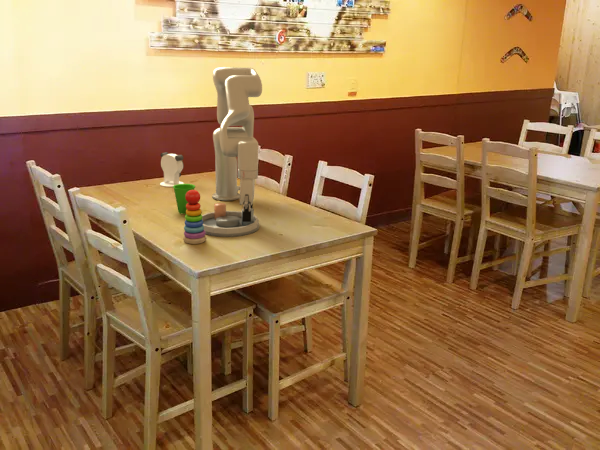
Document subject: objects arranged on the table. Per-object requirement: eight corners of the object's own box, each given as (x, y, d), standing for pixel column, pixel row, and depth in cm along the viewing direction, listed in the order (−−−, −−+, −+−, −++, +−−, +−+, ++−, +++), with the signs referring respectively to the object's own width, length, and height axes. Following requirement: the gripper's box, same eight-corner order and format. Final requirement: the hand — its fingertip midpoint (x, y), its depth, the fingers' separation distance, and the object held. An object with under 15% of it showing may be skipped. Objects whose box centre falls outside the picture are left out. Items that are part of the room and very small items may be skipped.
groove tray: (221, 214, 239) (221, 207, 238) (271, 224, 228) (271, 217, 227) (183, 229, 219) (182, 221, 218) (235, 241, 208) (235, 233, 207)
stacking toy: (184, 237, 210) (182, 186, 204) (206, 237, 211) (205, 187, 205) (182, 244, 203) (180, 192, 197) (205, 244, 203) (204, 192, 198)
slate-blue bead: (242, 222, 225) (242, 207, 224) (253, 223, 226) (254, 208, 224) (241, 226, 221) (241, 211, 219) (253, 226, 221) (253, 211, 219)
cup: (191, 216, 235) (190, 189, 232) (170, 214, 237) (169, 187, 234) (199, 210, 244) (198, 184, 240) (178, 208, 245) (178, 182, 242)
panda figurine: (189, 183, 287) (188, 153, 282) (173, 188, 278) (172, 157, 273) (171, 180, 293) (170, 150, 288) (155, 184, 283) (153, 154, 279)
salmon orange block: (219, 216, 232) (218, 202, 230) (228, 218, 230) (228, 203, 228) (212, 219, 228) (211, 204, 227) (221, 221, 226) (221, 206, 225)
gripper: (239, 168, 225) (239, 211, 231) (235, 178, 209) (235, 224, 214) (258, 169, 226) (258, 211, 231) (256, 179, 209) (256, 224, 214)
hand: (247, 217), depth 222 cm, fingers open, 9 cm apart
